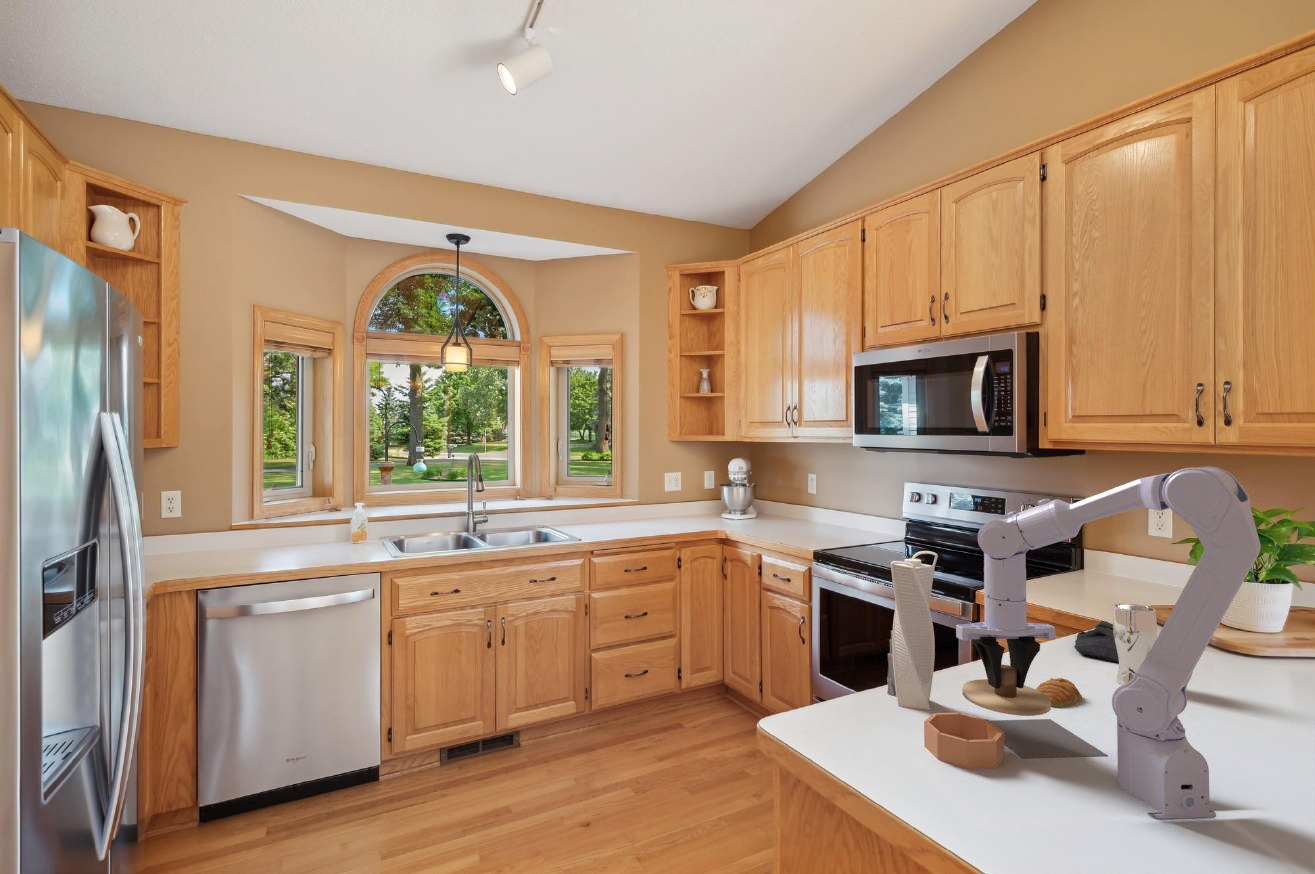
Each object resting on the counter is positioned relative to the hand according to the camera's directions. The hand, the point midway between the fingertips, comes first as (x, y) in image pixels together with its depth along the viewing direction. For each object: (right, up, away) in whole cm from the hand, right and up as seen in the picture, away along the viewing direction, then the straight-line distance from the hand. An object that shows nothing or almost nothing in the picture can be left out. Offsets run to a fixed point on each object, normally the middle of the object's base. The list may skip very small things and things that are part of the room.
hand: (1005, 685), depth 100 cm
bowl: (-8, -9, -3) cm, 13 cm away
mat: (+6, -10, +2) cm, 11 cm away
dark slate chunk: (+50, -11, +49) cm, 71 cm away
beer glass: (+40, -10, +27) cm, 49 cm away
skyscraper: (-8, -10, +16) cm, 21 cm away
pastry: (+19, -10, +18) cm, 28 cm away
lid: (0, -2, 0) cm, 2 cm away
